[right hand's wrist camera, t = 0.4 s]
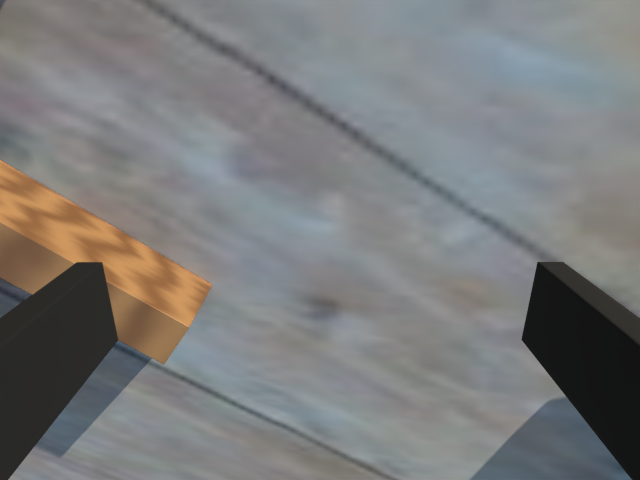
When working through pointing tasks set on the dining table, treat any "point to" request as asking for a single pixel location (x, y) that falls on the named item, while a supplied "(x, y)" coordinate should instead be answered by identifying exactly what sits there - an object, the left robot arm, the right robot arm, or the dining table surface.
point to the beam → (95, 246)
